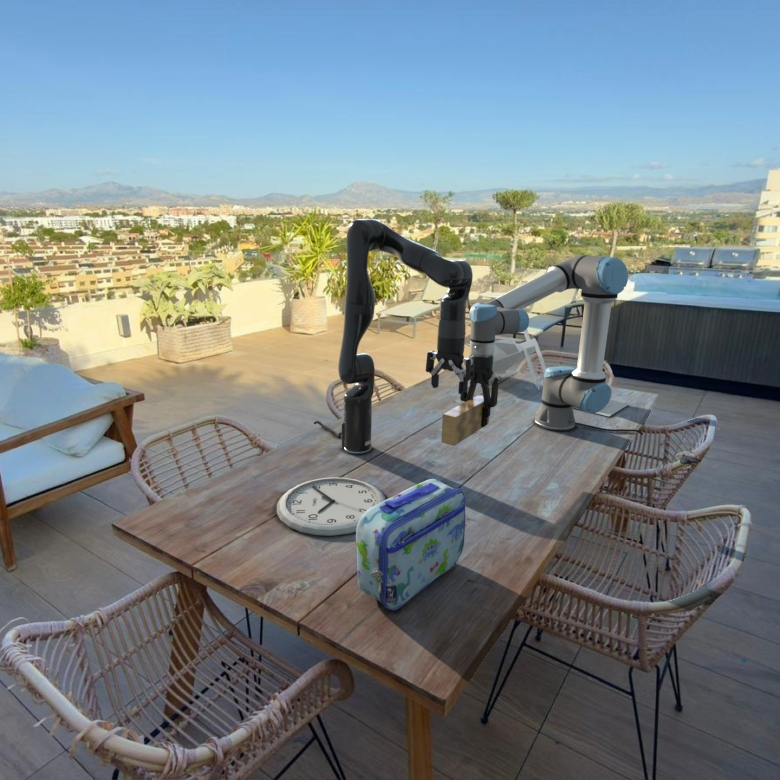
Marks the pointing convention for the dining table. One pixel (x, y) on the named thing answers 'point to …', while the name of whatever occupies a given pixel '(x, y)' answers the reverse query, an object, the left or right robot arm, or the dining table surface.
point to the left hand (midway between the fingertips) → (448, 390)
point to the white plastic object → (516, 355)
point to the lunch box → (409, 541)
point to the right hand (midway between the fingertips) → (476, 423)
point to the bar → (462, 421)
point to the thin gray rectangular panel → (611, 408)
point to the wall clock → (327, 505)
